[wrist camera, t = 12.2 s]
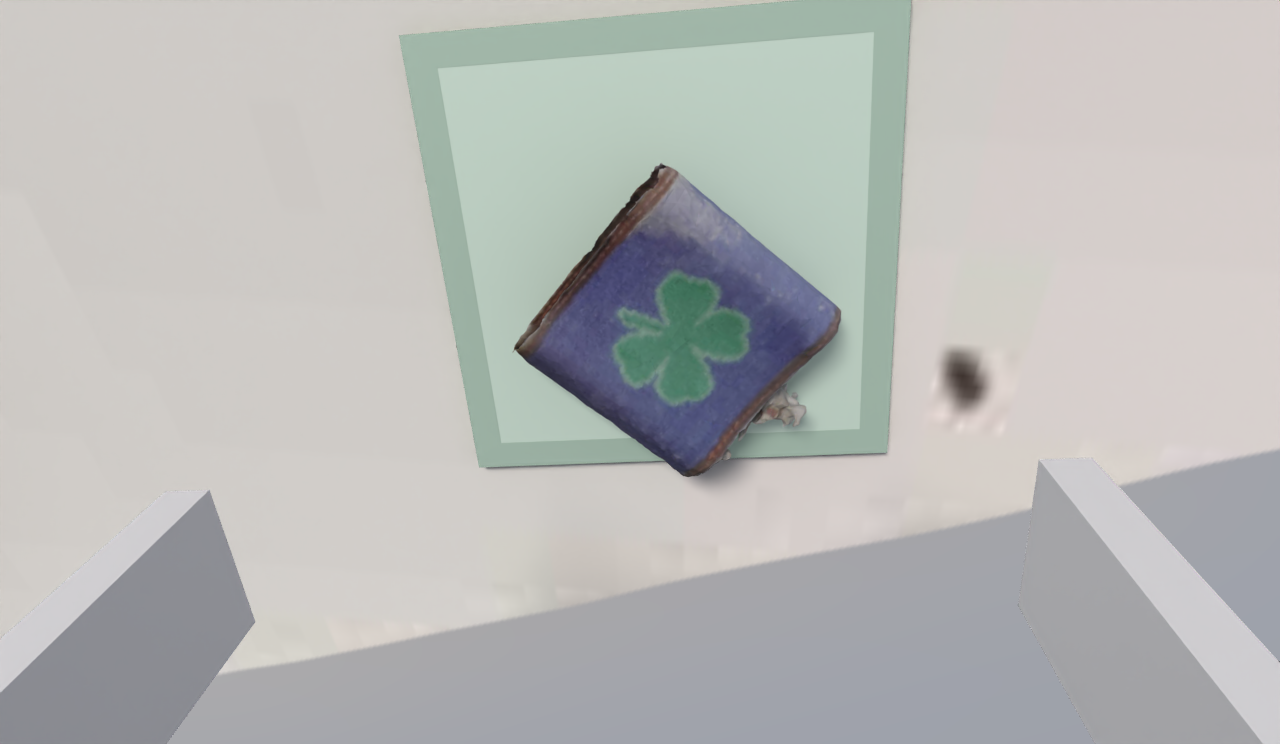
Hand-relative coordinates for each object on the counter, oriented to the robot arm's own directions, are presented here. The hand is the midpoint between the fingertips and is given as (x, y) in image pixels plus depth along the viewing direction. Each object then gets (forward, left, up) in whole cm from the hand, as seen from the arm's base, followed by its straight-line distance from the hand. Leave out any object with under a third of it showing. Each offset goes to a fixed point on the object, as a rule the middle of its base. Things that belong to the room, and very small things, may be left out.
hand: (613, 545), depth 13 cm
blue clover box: (-3, -1, -21) cm, 21 cm away
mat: (0, -1, -21) cm, 21 cm away
